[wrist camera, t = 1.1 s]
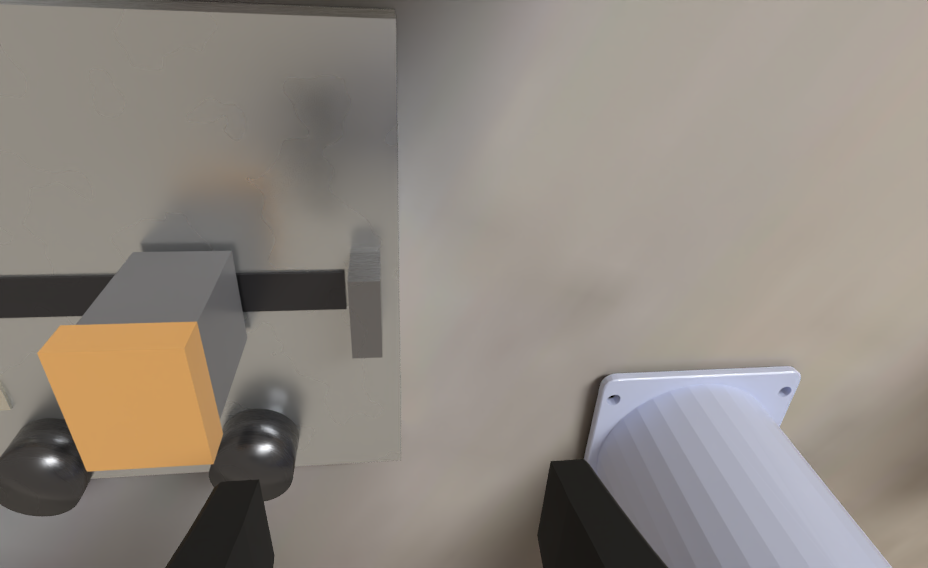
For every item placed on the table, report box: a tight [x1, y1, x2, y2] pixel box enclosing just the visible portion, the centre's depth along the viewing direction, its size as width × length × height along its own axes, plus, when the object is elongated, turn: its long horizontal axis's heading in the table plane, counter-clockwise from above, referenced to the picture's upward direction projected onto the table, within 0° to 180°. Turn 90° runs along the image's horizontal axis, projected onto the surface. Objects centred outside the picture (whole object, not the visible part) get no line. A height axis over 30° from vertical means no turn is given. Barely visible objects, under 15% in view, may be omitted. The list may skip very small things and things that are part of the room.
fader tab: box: [37, 251, 247, 472], centre depth 14 cm, size 3×3×4 cm
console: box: [0, 0, 401, 516], centre depth 15 cm, size 14×17×4 cm
